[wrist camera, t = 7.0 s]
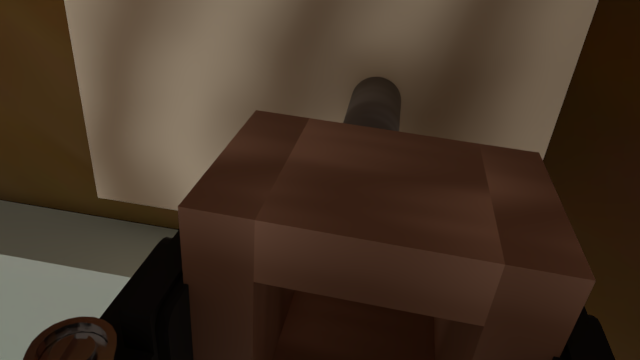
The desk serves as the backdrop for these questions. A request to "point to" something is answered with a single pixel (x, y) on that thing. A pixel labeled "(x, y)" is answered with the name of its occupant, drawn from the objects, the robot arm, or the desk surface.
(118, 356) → the robot arm
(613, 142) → the desk surface
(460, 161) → the tabbed ring
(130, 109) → the stake board
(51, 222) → the tray
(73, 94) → the desk surface
